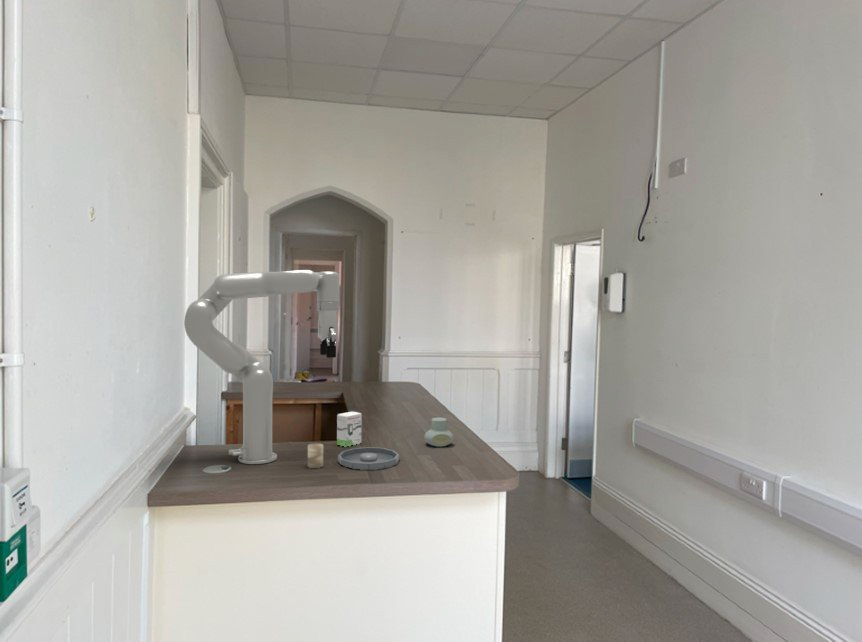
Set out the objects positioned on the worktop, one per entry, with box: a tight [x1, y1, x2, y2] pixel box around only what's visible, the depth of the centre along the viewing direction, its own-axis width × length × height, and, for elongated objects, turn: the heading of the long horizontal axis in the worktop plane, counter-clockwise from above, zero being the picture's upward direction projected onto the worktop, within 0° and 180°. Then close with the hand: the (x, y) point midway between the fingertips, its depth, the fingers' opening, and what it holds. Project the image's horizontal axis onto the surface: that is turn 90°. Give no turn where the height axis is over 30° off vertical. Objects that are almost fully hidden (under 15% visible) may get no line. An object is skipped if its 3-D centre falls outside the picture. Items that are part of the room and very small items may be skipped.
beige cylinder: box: [307, 442, 324, 468], centre depth 192 cm, size 5×5×7 cm
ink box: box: [336, 411, 363, 448], centre depth 220 cm, size 9×5×12 cm, turn 143°
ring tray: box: [337, 446, 400, 471], centre depth 198 cm, size 20×20×2 cm
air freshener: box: [423, 416, 454, 448], centre depth 221 cm, size 11×8×10 cm
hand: (327, 356), depth 204 cm, fingers open, 9 cm apart
